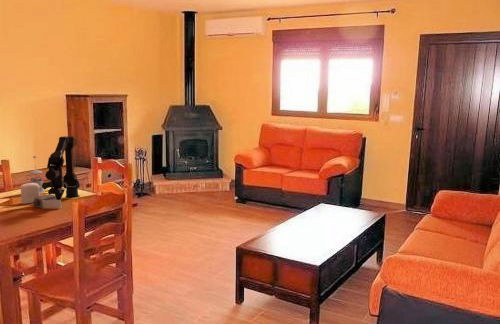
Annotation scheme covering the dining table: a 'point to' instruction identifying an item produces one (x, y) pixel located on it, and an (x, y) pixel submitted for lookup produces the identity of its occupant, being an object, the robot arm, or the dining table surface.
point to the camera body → (38, 200)
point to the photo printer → (29, 192)
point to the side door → (51, 204)
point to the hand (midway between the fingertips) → (59, 202)
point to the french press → (36, 179)
